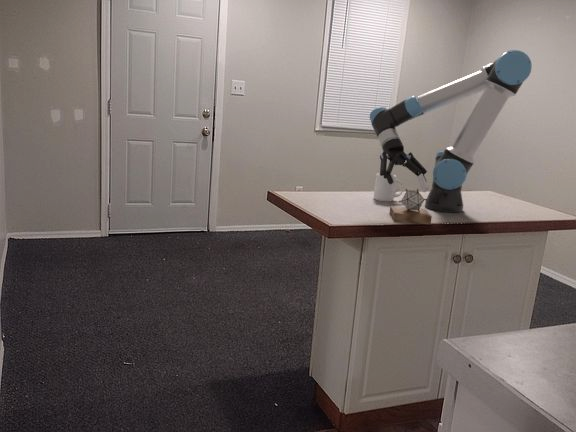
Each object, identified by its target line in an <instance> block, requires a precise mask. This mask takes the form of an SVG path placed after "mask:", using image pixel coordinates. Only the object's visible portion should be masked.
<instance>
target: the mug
mask: <svg viewBox="0 0 576 432" xmlns="http://www.w3.org/2000/svg"><path fill="white" fill-rule="evenodd" d="M394 177H395V179H396V181H397V184H399V185H400V186H401V192H400V193H397V192H396V193H394V192H393V190H392V187H391V185H390V184H389V183H388V181H387V178H386V179H385V178H384V177H383V176H381V175H380V172H378V173H375V183H374V188H373V189H374V190H373V198H374V200H376V201H378V202H379V201H380V202H393V201H394V199H395V198H399V197H400V196H402V194H403V192H404V184H403V182H402V181H401V180H399V179H398V178H397V177H398V176H397V175H395V174H394Z"/></svg>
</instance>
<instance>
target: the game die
mask: <svg viewBox="0 0 576 432" xmlns="http://www.w3.org/2000/svg"><path fill="white" fill-rule="evenodd" d="M426 200H427V198H424V197H423V196H422V194H421V193H420V191H419V188H417V189H416V190H408V189H407V188H405V193H404V194H403V197H402V198H401V200H399V201H398V202H399V203H402V204H403V206H404V207H406V208H407V209H408V210H407V212H408V211H409V210H418V211H419V212H420V210H419V209H421V208H422V205H423V203H425V201H426Z"/></svg>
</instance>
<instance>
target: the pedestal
mask: <svg viewBox="0 0 576 432" xmlns="http://www.w3.org/2000/svg"><path fill="white" fill-rule="evenodd" d="M407 210H408V209H407V208H406V207H405V206H404V207H403V206H394V205H390V207H389V213H388V214H389V215H390V217H391V219H392V222H396V223H409V224H419V225H420V224H421V225H431V224H432V217H433V216H432V215H431V214H430V213H429V211H428V210H427V209H426V208H420V209H419V210H420V212H419V211H418V210H409V211H408V212H407Z"/></svg>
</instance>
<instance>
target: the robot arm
mask: <svg viewBox="0 0 576 432" xmlns="http://www.w3.org/2000/svg"><path fill="white" fill-rule="evenodd" d="M532 66H533V65H532V60H531V58H530V56H528V54H527V53H525V52H524V51H522V50H519V49H518V50H516V49H511V50H507V51H505V52H503V53H502V54H501V55H500V56H499V57H498V58H497V59H496V60H494V61H492V62H490V63H487V64H486V65H484V66H482V67H481V69H480V70H479V71H476V72H474V73H472V74H469V75H467V76H464V77H462V78H459V79H457V80H454V81H452V82H450V83H449V82H448V83H447V84H444V85H442V86H440V87H438V88H435V89H432V90H430V91H427V92H425V93H422V94H421V95H418V96H416V95H411V96H410V97H407V98H405V99H404V100H403V101H400V102H399V103H397V104H395V105H393V106H392V107H390V108H386V107H384V106H380V107H375V108H374V109H373V110H371V112H370V113H369V121H370V123H371V126H372V129H373V130H374V132H375V135H376V137H377V139H378V142H379V144H380V146H381V149H382V153H381V154H380V155H379V159H380V168H379V173H380V175H381V176H383V177H384V178H385V179H386V178H387V181H388V183H389V184H390V185H391V187H392V190H393V192H394V193H396V194H397V192H398V191H399V190H400V186H399V185H398V183H397V181H396V179H395V177H394V175H395V174H394V173H392V171H393V169H394V166H402V167H405V168H406V169H408V170H409V171H410V172H411V173H412V174H414V175H415V176H417V177H416V179H417V182H418V184H419V186H420V188H421V190H422V193H426V192H427V191H428V190H429V189H430V188H429V185H428V183H427V179H426V176H425V175H426V173H428V171H427V169H426V168H425V167H424V166H423V165H422V164H421V163H420V161H418V160H417V158H415V156H414V155H413V153H412V152H408V153H406V152H405V146H404V145H403V142H402V140H401V137H400V135H399V133H398V132H397V129H396V128H397V127H399V126H401V125H403V124H405V123H407V122H409V121H411V120H413V119H415V118H416V119H417V118H418V117H421V116H423V115H425V114H428V113H431V112H433V111H435V110H438V109H440V108H443V107H445V106H449V105H451V104H453V103H456V102H458V101H461V100H463V99H466V98H468V97H471V96H474V95H477V94H479V93H481V92H483V93H482V94H481V96H480V98H479V99H478V101H477V103H476V105H475V106H474V108H473V110H471V113H470V115H469V116H468V118H467V120H466V121H465V123H464V124H463V126H462V128H461V130H460V131H459V133H458V134H457V137H456V138H455V140H454V142H453V144H452V145H451V146H448V147H445V149H444V151H442V150H441V151H438V152H437V153H436V156H435V161H434V168H433V170H432V185H431V189H430V191H429V193H428V195H427V197H426V199H427V200H424V207H425V208H427V209H430V210H433V211H439V212H444V213H462V212H463V210H464V201H463V195H462V194H463V193H462V187H463V184H464V183H465V182H466V178H467V175H468V173H469V172H470V170H471V169H472V167H473V165H474V164H475V161H474V156H475V154H476V153H477V151H478V149H479V147H480V146H481V144H482V143H483V141H484V139H485V138H486V135H487V134H488V132H489V130H490V129H491V128H492V126H493V125H494V123H495V121H496V119H497V117H498V116H499V114H500V113H501V111H502V109H503V108H504V106H505V104H506V102H507V101H508V100H509V98H511V97H515V96H516V95H517V93H518V92H519V89H520V88H521V86H522V85H523V83H524V82H525V81H526V80H527V79H528V78H529V77H530V74H531V72H532ZM388 161H389V162H388ZM387 163H388V164H387ZM387 165H388V166H387Z"/></svg>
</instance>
